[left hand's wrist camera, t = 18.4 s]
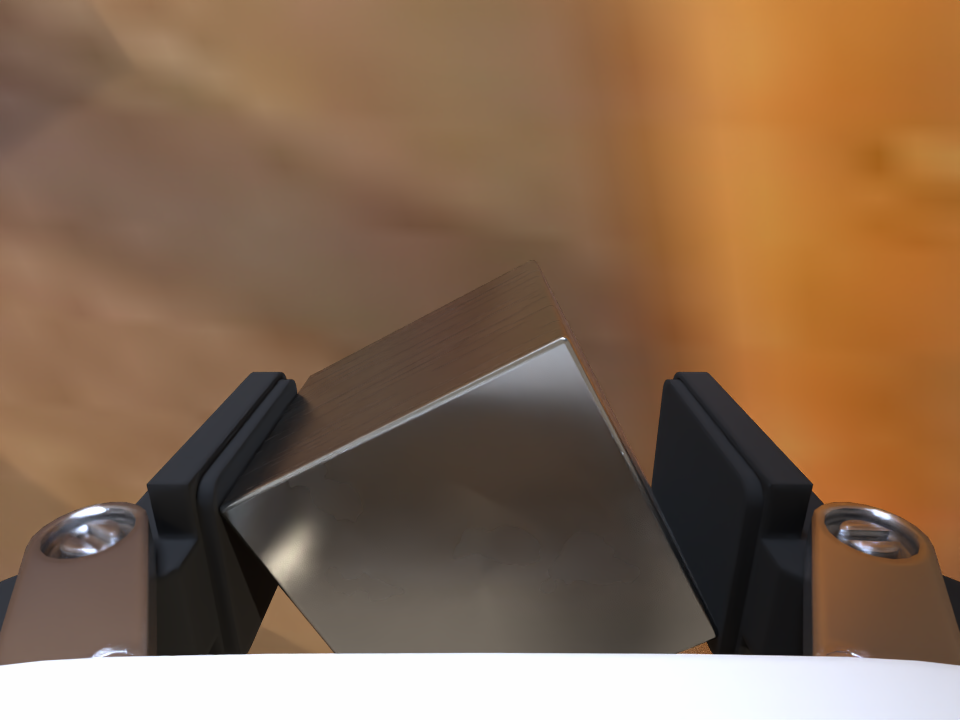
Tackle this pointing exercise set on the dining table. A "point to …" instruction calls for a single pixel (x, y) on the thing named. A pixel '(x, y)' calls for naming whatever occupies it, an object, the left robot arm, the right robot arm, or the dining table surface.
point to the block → (468, 495)
